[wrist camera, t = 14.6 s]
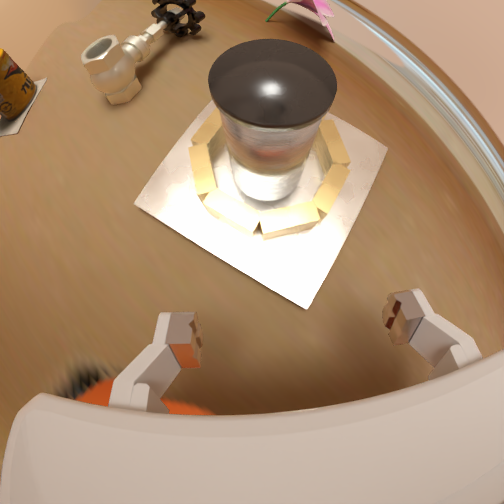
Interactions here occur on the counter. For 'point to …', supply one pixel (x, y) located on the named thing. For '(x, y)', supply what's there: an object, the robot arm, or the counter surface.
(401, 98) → the counter surface
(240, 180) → the black-capped jar
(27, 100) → the condiment
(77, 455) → the robot arm
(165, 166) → the flange
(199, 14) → the valve
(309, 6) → the lily
